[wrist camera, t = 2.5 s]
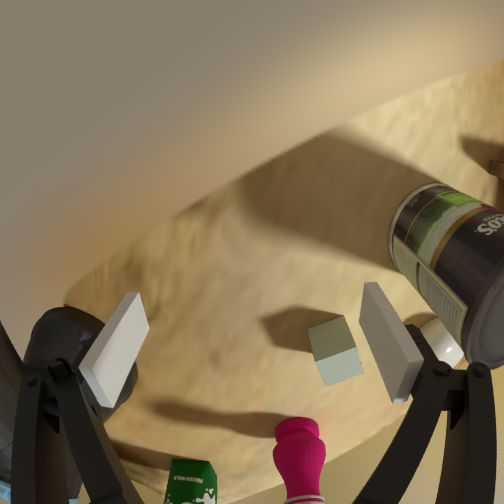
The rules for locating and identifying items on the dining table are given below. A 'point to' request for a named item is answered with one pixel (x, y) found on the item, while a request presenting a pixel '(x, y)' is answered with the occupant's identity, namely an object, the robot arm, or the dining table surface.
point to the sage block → (335, 351)
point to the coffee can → (455, 265)
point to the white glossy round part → (442, 342)
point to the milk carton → (191, 483)
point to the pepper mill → (300, 459)
